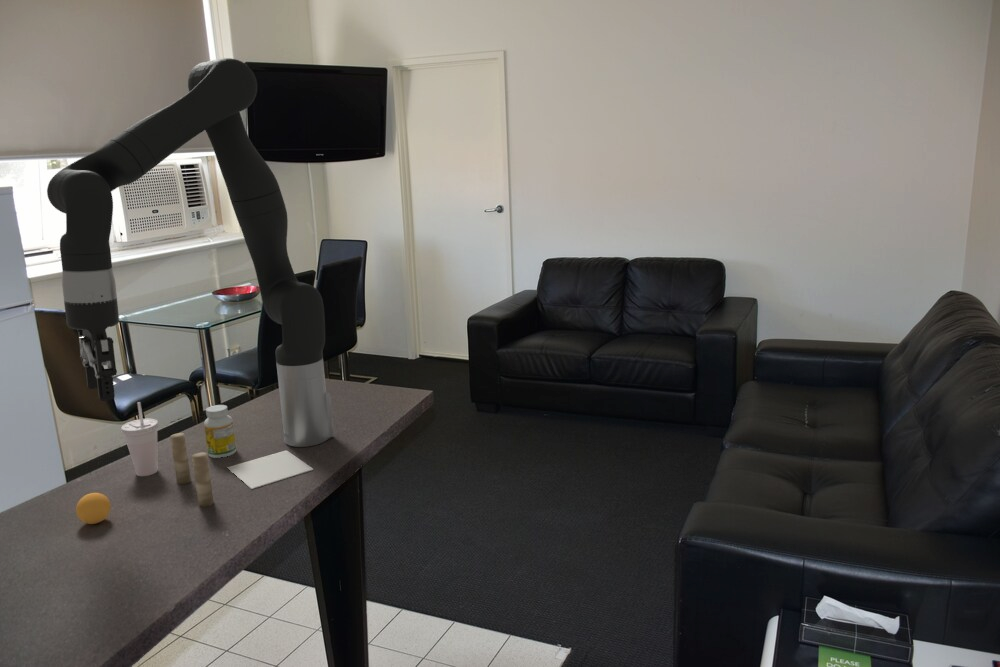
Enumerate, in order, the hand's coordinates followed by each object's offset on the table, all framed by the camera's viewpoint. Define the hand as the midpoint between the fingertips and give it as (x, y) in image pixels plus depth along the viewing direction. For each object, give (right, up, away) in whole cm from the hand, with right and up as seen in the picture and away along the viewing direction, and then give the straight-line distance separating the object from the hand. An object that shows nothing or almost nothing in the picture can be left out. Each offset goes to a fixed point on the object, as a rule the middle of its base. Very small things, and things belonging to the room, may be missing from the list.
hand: (100, 393), depth 124 cm
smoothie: (-1, -17, +18) cm, 25 cm away
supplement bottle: (+10, -14, +26) cm, 32 cm away
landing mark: (+22, -16, +18) cm, 33 cm away
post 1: (+8, -17, +14) cm, 24 cm away
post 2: (+15, -19, +5) cm, 25 cm away
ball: (-1, -19, -1) cm, 19 cm away
